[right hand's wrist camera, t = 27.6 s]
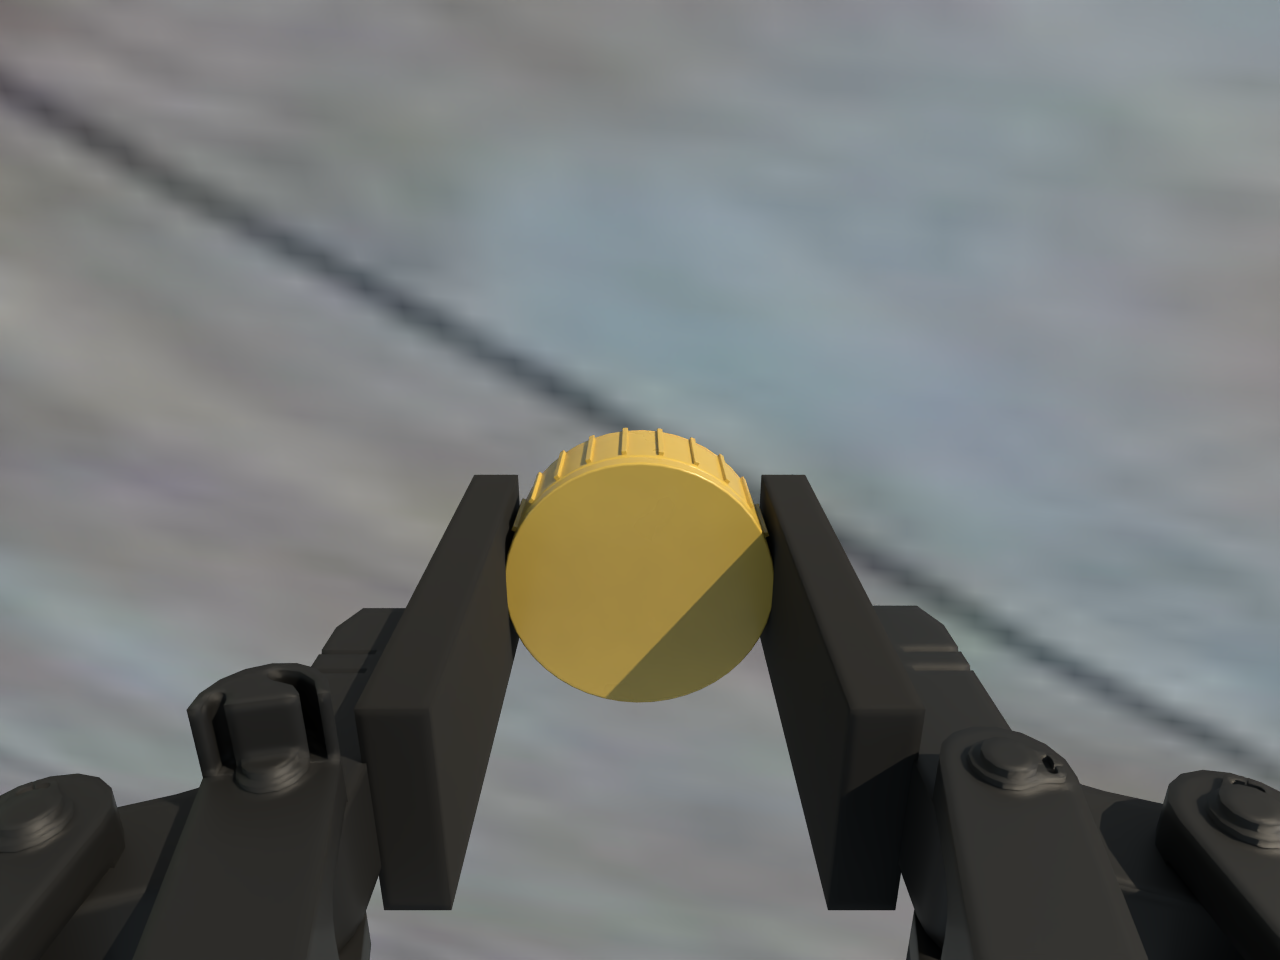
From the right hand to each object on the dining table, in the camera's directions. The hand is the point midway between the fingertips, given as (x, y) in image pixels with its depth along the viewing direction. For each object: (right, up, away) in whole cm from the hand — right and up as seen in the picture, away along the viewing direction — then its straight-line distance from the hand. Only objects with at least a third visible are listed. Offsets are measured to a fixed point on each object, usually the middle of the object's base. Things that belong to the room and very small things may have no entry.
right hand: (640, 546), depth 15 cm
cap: (0, 0, -1) cm, 1 cm away
